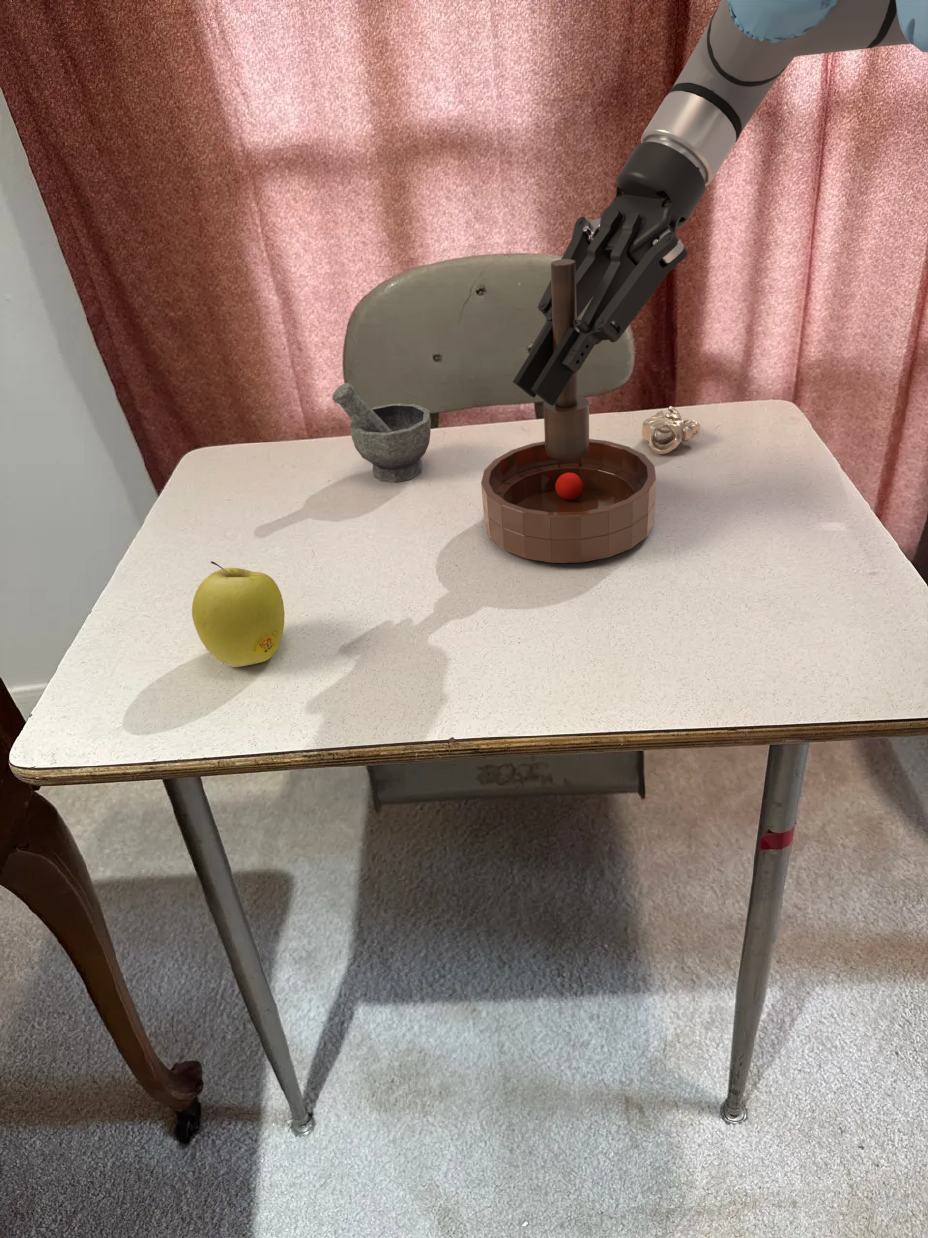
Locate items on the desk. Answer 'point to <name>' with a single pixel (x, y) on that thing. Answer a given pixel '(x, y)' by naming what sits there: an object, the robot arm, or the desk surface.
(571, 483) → the red ball
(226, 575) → the apple
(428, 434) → the mortar and pestle
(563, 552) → the bowl
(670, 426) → the ornament
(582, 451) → the brown pestle
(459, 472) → the desk surface
